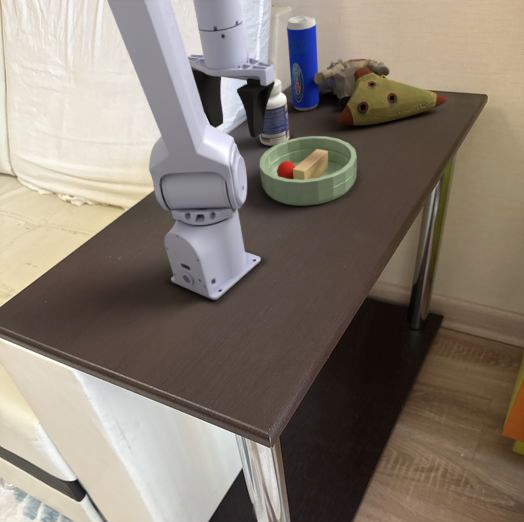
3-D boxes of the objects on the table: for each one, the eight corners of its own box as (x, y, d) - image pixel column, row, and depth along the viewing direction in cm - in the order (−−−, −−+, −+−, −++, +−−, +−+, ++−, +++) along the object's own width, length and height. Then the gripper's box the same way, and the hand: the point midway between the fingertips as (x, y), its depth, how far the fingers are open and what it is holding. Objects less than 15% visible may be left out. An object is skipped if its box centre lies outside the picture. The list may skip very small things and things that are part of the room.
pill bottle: (294, 141, 93) (290, 83, 86) (266, 149, 92) (260, 91, 85) (282, 130, 96) (277, 74, 89) (255, 138, 95) (248, 82, 88)
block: (305, 189, 79) (303, 171, 77) (294, 187, 80) (292, 169, 78) (328, 169, 83) (327, 150, 81) (317, 166, 84) (316, 148, 82)
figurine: (327, 130, 98) (321, 122, 111) (399, 89, 94) (383, 85, 108) (304, 81, 94) (300, 78, 107) (378, 35, 90) (365, 39, 104)
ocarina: (443, 113, 96) (430, 59, 95) (455, 99, 90) (441, 42, 90) (337, 138, 95) (324, 84, 95) (342, 126, 90) (328, 68, 89)
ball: (292, 186, 83) (281, 185, 80) (281, 173, 83) (269, 172, 81) (303, 171, 81) (292, 169, 78) (292, 158, 82) (280, 156, 79)
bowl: (322, 216, 75) (321, 190, 72) (244, 193, 82) (240, 169, 79) (373, 170, 82) (374, 145, 79) (297, 153, 89) (295, 130, 86)
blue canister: (288, 105, 104) (281, 19, 93) (311, 98, 105) (306, 12, 94) (300, 113, 100) (294, 25, 90) (324, 106, 102) (320, 18, 91)
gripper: (284, 18, 65) (293, 126, 75) (199, 11, 72) (217, 111, 82) (249, 36, 61) (263, 147, 71) (164, 27, 69) (187, 130, 78)
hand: (236, 130), depth 76 cm, fingers open, 7 cm apart
